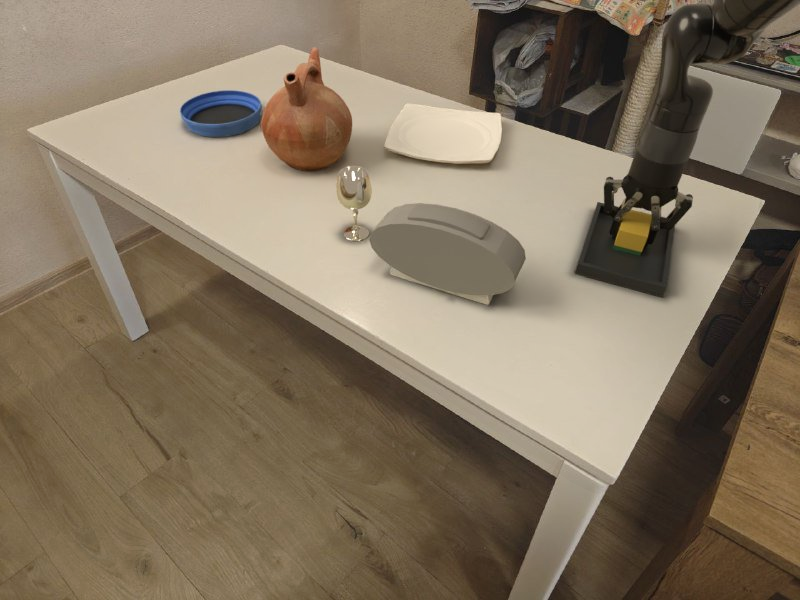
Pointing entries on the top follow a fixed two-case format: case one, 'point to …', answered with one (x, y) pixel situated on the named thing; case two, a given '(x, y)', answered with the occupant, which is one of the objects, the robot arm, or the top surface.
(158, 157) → the top surface
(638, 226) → the sponge
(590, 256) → the tray
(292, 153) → the jug
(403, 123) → the plate
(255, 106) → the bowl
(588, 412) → the top surface
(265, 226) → the top surface
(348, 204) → the wineglass
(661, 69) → the robot arm
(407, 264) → the alarm clock
